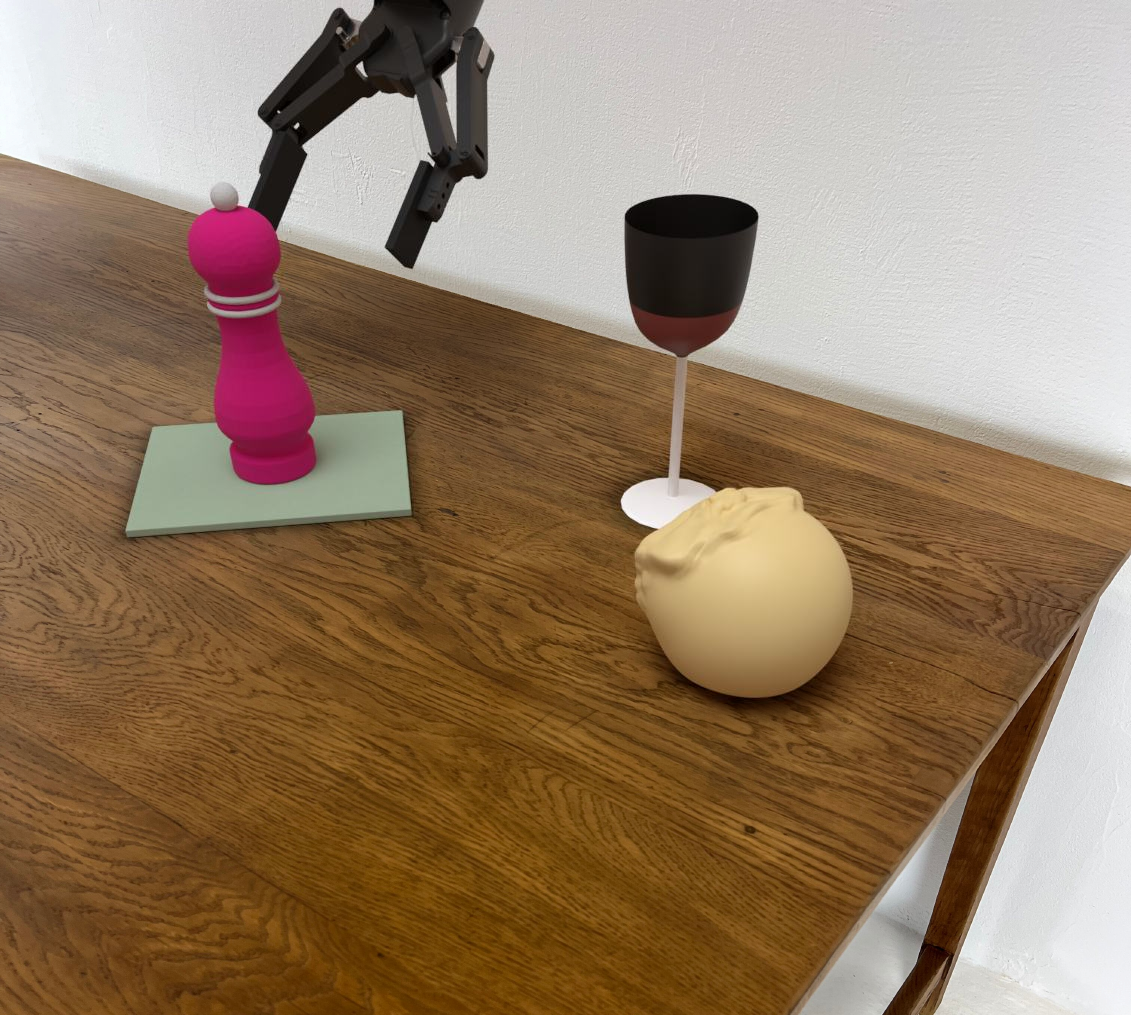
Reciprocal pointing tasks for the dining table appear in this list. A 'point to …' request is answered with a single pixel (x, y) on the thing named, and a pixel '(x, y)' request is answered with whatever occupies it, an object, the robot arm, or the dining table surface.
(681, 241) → the wineglass
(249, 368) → the pepper mill
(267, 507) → the placemat
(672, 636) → the sculpture
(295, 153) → the robot arm
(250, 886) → the dining table surface
